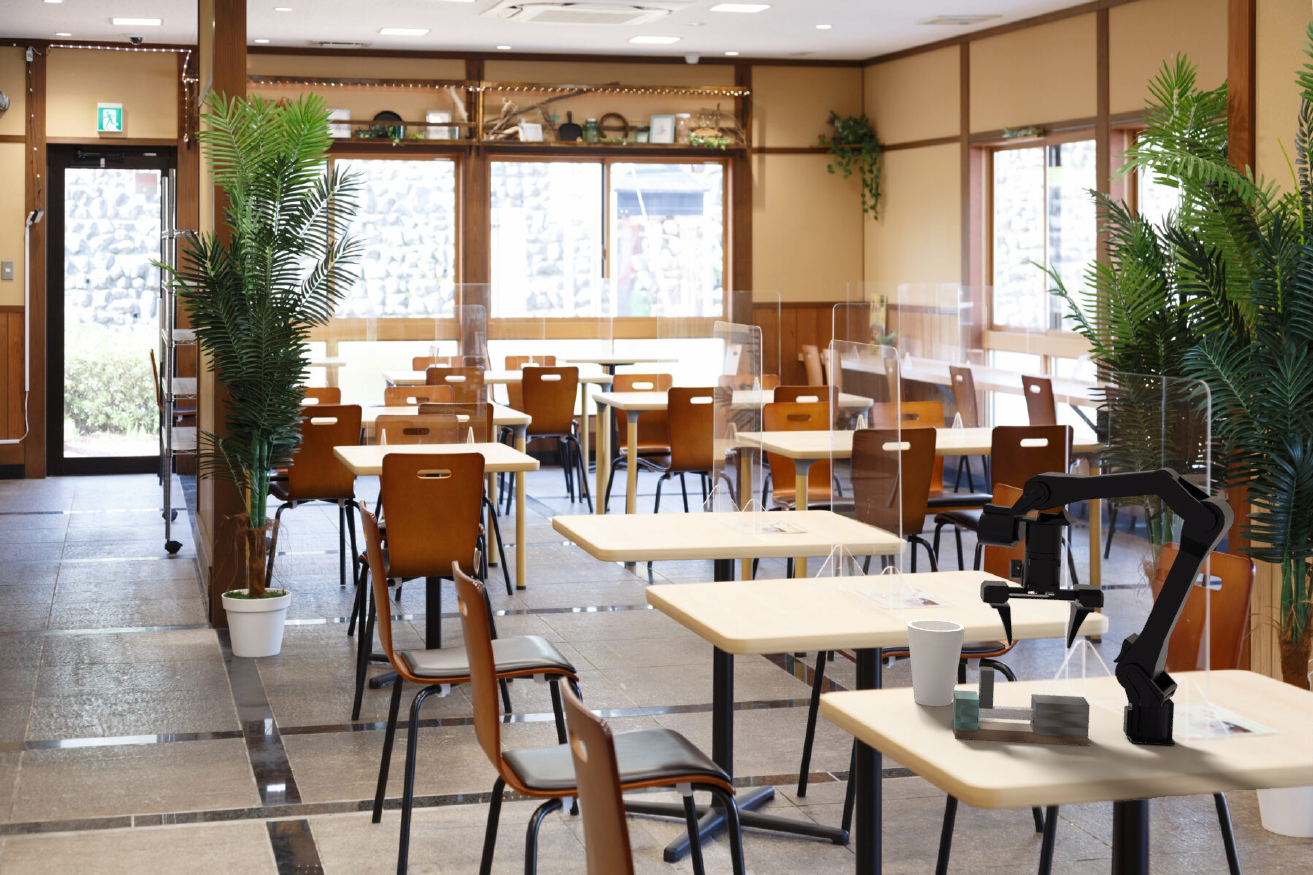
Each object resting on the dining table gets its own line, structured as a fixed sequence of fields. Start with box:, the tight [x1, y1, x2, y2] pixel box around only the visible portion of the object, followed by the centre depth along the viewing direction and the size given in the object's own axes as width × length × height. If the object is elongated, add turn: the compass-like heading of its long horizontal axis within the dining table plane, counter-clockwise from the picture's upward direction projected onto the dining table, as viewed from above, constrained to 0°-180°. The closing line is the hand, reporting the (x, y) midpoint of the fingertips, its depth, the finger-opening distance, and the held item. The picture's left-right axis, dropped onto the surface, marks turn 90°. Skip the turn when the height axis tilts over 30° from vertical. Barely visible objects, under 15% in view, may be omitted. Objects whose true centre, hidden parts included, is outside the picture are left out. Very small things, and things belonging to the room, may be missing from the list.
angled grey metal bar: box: [978, 666, 1034, 721], centre depth 222 cm, size 13×2×8 cm, turn 83°
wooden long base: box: [951, 689, 1090, 747], centre depth 222 cm, size 20×7×6 cm, turn 83°
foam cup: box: [906, 619, 965, 707], centre depth 241 cm, size 10×9×13 cm
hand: (1039, 646), depth 231 cm, fingers open, 9 cm apart
